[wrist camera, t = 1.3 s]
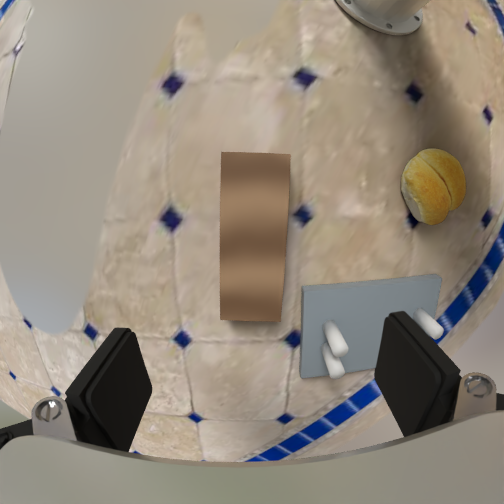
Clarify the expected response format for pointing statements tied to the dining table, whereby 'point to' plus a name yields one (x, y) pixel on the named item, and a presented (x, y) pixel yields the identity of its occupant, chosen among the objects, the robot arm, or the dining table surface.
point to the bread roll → (433, 185)
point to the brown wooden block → (253, 234)
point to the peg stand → (359, 321)
